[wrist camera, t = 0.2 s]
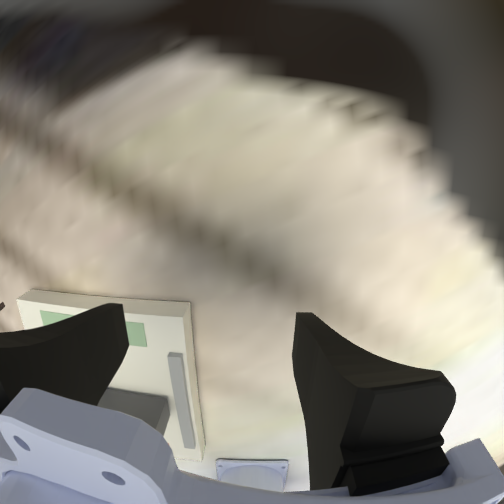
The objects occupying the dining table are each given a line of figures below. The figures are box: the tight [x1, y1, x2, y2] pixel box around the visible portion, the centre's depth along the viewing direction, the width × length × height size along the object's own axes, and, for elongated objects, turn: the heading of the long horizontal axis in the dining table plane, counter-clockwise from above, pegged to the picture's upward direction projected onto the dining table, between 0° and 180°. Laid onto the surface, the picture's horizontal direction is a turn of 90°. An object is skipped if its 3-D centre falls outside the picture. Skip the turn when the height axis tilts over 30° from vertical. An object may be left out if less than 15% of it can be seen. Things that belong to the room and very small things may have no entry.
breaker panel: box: [16, 289, 205, 462], centre depth 23 cm, size 17×16×3 cm
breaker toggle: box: [97, 389, 170, 436], centre depth 20 cm, size 2×12×4 cm, turn 89°
